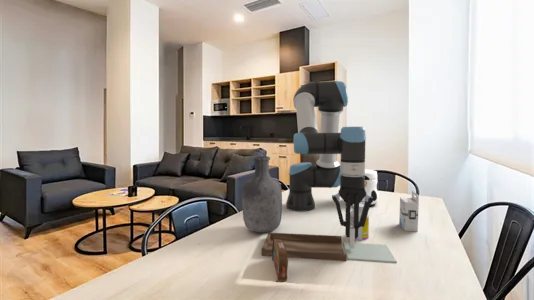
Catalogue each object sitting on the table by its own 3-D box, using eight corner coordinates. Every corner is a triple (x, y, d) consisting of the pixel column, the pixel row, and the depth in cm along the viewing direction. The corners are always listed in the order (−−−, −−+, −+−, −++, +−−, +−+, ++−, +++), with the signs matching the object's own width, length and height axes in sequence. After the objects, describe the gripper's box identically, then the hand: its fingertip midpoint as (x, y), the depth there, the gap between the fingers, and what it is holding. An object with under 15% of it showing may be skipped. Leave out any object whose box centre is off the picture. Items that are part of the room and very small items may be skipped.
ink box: (398, 223, 117) (399, 189, 116) (411, 224, 116) (412, 190, 115) (404, 231, 109) (405, 194, 108) (418, 231, 108) (419, 195, 107)
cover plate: (343, 247, 95) (343, 242, 95) (386, 250, 93) (386, 244, 92) (347, 264, 83) (347, 258, 83) (396, 268, 81) (396, 261, 81)
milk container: (345, 206, 144) (345, 173, 143) (345, 198, 160) (345, 168, 159) (380, 209, 139) (381, 174, 138) (377, 200, 155) (377, 169, 154)
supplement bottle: (368, 236, 103) (368, 203, 102) (368, 243, 97) (369, 208, 96) (349, 234, 105) (350, 202, 104) (349, 241, 99) (349, 206, 98)
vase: (287, 226, 115) (287, 155, 113) (272, 240, 100) (271, 159, 98) (254, 221, 121) (253, 154, 119) (235, 234, 107) (233, 158, 105)
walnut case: (268, 240, 101) (268, 232, 100) (341, 244, 97) (341, 236, 96) (261, 258, 86) (261, 249, 86) (346, 264, 82) (346, 254, 82)
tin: (271, 260, 85) (271, 234, 84) (281, 260, 85) (281, 234, 85) (277, 288, 70) (277, 256, 69) (289, 288, 70) (289, 256, 70)
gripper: (332, 176, 84) (331, 250, 86) (376, 177, 82) (375, 253, 84) (330, 172, 92) (330, 241, 93) (371, 173, 90) (370, 243, 91)
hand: (351, 246), depth 89 cm, fingers closed
